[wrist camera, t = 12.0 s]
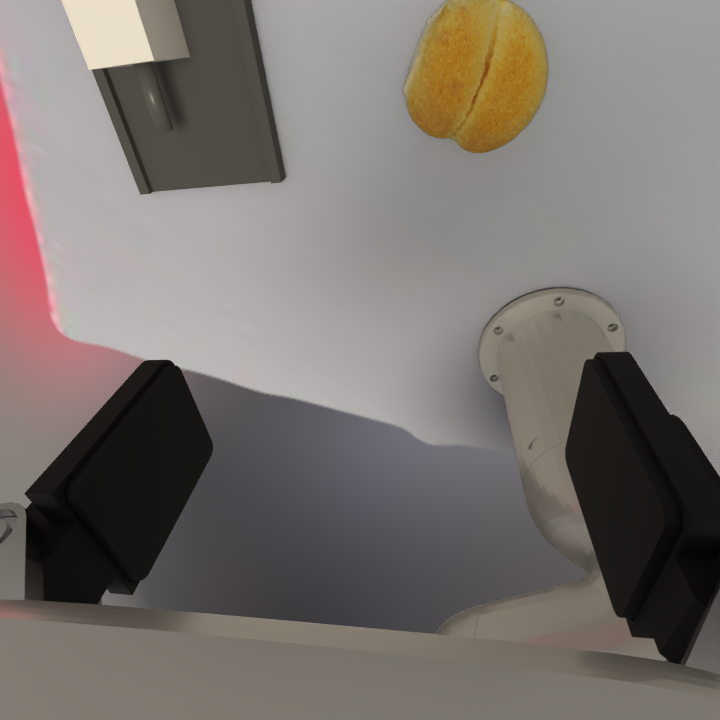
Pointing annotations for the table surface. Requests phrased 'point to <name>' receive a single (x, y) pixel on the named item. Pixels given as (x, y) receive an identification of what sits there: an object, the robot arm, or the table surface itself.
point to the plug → (131, 42)
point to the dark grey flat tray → (200, 106)
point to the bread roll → (477, 73)
